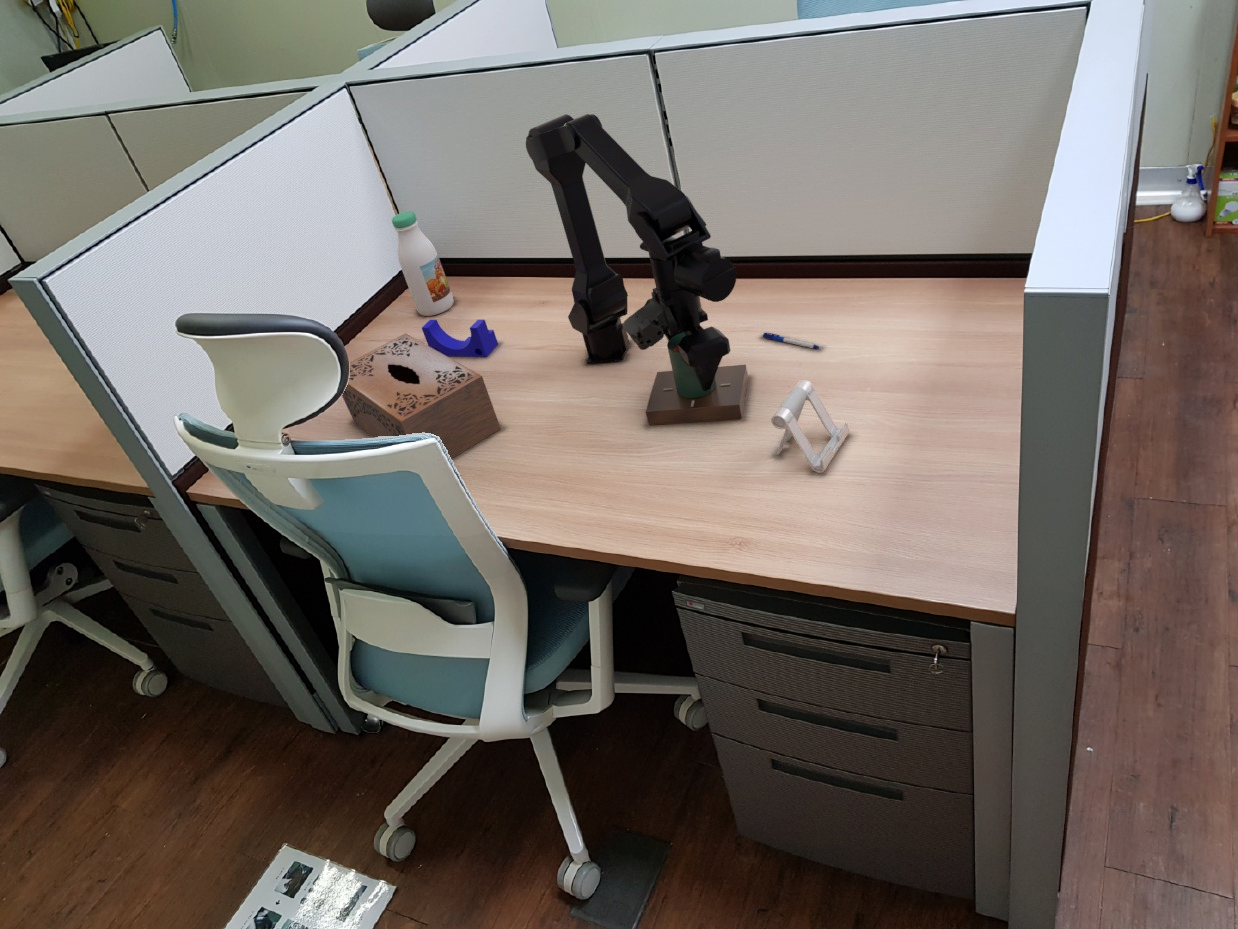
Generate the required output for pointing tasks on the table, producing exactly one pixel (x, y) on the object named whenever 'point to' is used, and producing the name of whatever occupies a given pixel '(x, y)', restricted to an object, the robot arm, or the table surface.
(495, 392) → the table surface
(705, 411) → the dial knob base plate
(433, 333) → the cable clip
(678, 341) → the rotary knob
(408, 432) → the tissue box cover
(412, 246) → the milk bottle
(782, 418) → the tablet stand
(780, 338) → the ballpoint pen
